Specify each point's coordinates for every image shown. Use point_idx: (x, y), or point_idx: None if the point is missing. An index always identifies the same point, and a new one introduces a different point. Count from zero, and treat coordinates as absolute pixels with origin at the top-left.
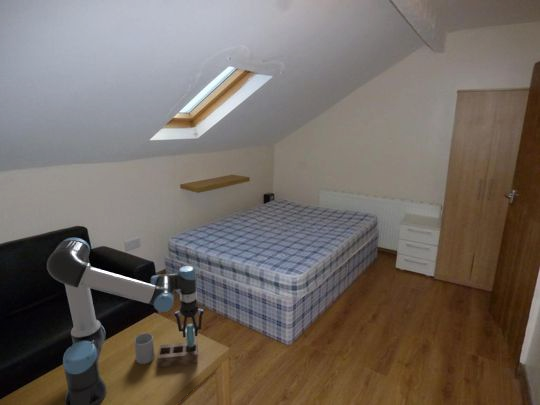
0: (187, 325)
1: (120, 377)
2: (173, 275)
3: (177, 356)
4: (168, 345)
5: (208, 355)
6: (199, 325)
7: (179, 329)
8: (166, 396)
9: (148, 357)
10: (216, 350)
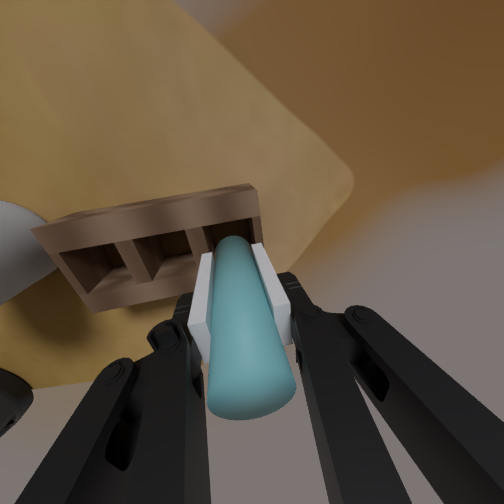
0: (215, 399)
1: (4, 332)
2: None
3: (183, 293)
4: (91, 230)
5: (296, 216)
6: (383, 401)
7: (131, 425)
8: None
9: (36, 281)
10: (328, 186)
